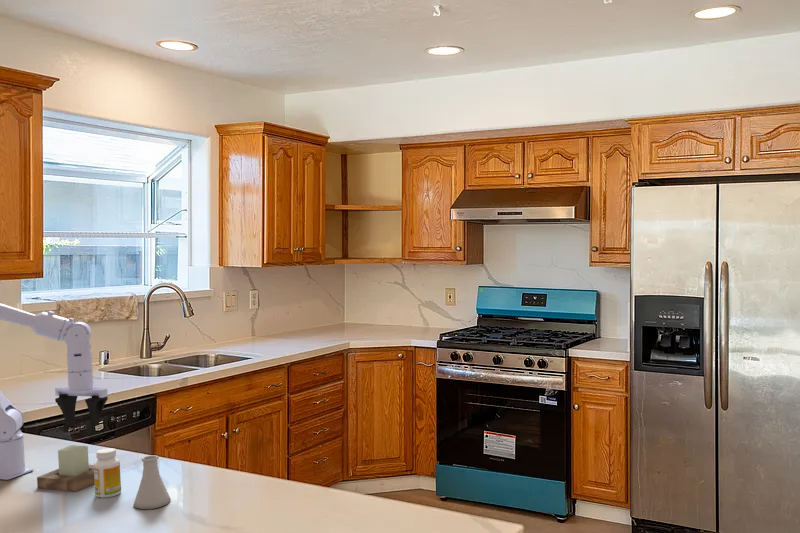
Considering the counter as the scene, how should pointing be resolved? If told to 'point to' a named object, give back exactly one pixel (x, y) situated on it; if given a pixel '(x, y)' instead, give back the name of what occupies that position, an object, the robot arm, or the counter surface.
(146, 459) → the flask
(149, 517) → the counter surface
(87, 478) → the socket
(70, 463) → the peg
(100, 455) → the supplement bottle
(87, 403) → the robot arm
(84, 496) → the counter surface
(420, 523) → the counter surface
